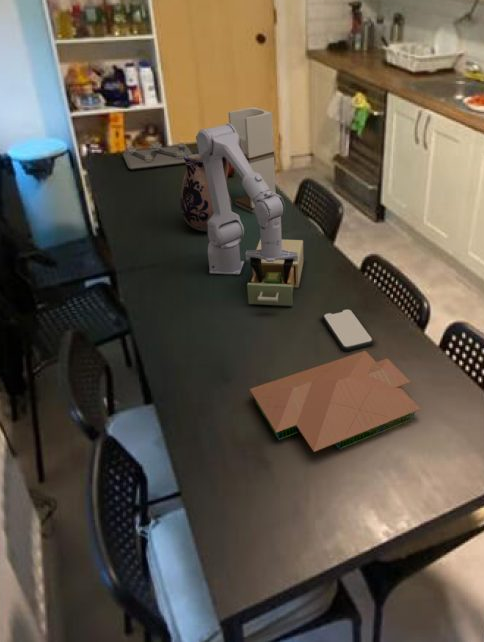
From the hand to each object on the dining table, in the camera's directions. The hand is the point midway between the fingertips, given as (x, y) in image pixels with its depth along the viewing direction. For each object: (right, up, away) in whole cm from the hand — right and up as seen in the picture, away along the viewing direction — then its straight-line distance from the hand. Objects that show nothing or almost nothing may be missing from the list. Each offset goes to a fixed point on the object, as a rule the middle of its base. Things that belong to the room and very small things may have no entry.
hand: (273, 281), depth 162 cm
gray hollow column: (-13, +32, +57) cm, 66 cm away
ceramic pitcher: (-27, +22, +41) cm, 54 cm away
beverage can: (-32, +48, +81) cm, 99 cm away
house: (+19, -30, -36) cm, 51 cm away
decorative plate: (-63, +60, +97) cm, 130 cm away
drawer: (0, -4, +1) cm, 4 cm away
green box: (0, -2, +1) cm, 3 cm away
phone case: (+21, -14, -12) cm, 28 cm away
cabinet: (0, +3, +13) cm, 13 cm away
